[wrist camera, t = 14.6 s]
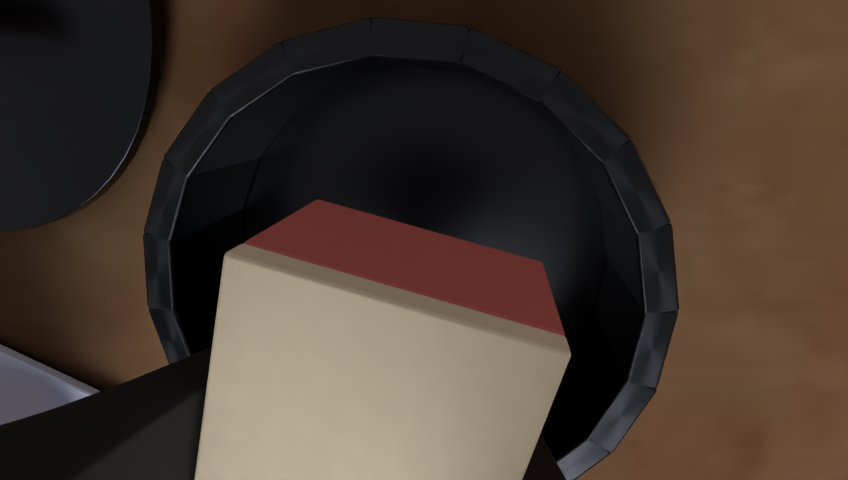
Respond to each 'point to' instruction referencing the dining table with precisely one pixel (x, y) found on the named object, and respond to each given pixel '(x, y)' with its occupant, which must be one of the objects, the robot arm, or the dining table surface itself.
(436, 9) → the dining table surface
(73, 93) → the pan lid
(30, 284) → the dining table surface
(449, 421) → the red and cream block
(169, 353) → the pan
